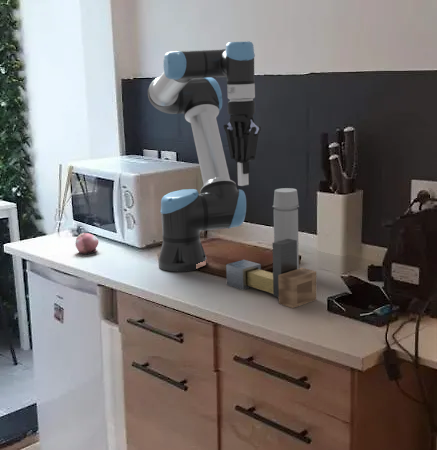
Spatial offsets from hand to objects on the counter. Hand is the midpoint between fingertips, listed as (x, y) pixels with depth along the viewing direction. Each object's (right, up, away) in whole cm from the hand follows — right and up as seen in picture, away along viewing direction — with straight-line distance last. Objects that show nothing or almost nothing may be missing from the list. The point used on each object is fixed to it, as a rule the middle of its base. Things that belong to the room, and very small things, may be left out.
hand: (243, 184), depth 202 cm
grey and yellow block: (+8, -29, -6) cm, 31 cm away
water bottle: (+14, -25, +13) cm, 32 cm away
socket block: (+14, -31, -13) cm, 37 cm away
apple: (-51, -21, +43) cm, 70 cm away
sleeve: (0, -28, +3) cm, 28 cm away
